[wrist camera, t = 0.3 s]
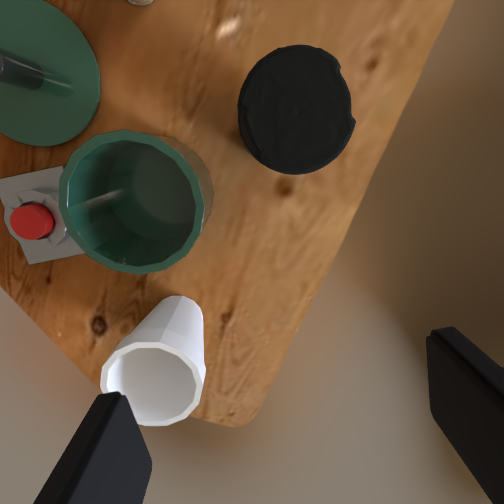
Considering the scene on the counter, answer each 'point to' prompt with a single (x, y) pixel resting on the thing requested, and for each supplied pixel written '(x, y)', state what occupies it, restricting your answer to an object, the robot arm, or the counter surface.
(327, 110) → the spray can
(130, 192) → the green pot
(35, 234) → the button
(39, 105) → the pot lid
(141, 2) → the sprinkles bottle
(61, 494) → the robot arm
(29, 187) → the grey mounting plate
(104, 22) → the counter surface
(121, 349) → the foam cup
